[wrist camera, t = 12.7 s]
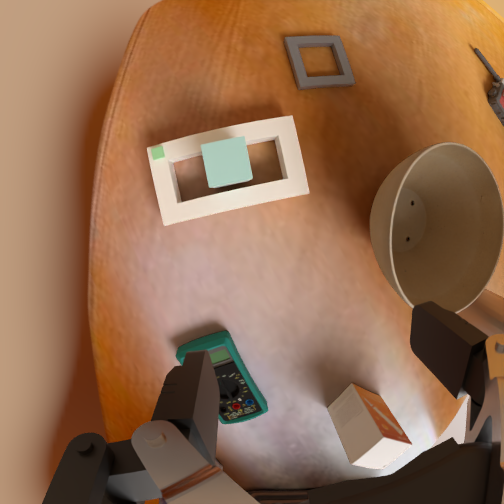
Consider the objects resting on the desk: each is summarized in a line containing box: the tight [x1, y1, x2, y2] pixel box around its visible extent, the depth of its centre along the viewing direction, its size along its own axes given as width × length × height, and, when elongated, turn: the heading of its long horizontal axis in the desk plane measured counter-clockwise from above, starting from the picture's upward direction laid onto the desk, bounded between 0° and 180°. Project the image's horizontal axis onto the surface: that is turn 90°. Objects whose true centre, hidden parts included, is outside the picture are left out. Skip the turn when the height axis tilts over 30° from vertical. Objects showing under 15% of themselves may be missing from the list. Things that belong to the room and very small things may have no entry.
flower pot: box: [370, 142, 504, 314], centre depth 29 cm, size 18×18×12 cm
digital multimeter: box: [176, 331, 268, 424], centre depth 37 cm, size 8×15×3 cm, turn 22°
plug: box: [201, 136, 253, 188], centre depth 27 cm, size 4×4×10 cm
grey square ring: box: [284, 36, 356, 90], centre depth 29 cm, size 7×7×1 cm
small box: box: [327, 383, 412, 470], centre depth 35 cm, size 8×6×13 cm
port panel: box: [147, 115, 309, 226], centre depth 30 cm, size 16×9×4 cm, turn 102°
